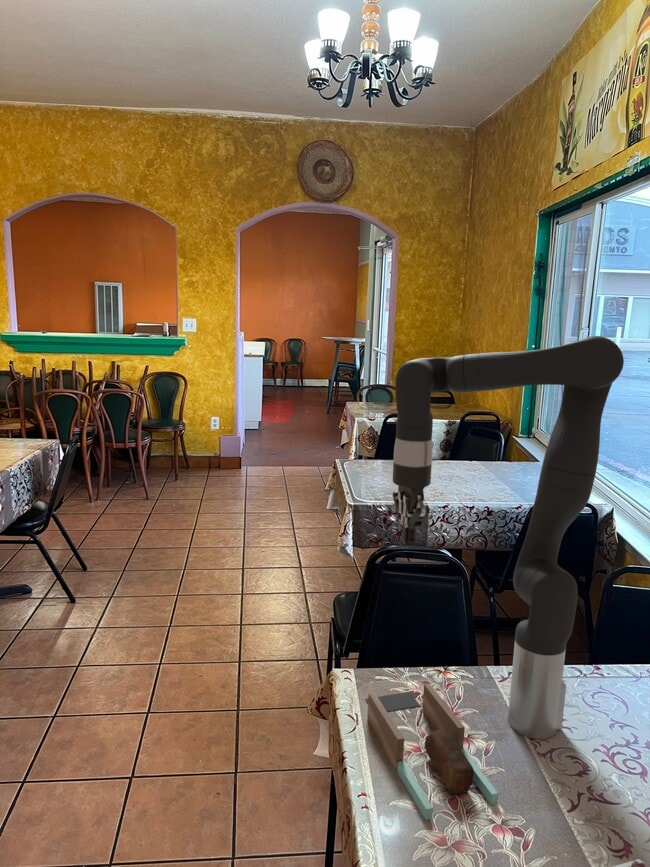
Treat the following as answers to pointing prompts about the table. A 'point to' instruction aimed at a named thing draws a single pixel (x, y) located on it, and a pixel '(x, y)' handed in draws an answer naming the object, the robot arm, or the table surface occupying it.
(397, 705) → the pad
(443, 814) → the table surface
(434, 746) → the brick
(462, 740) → the trench
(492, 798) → the bay
